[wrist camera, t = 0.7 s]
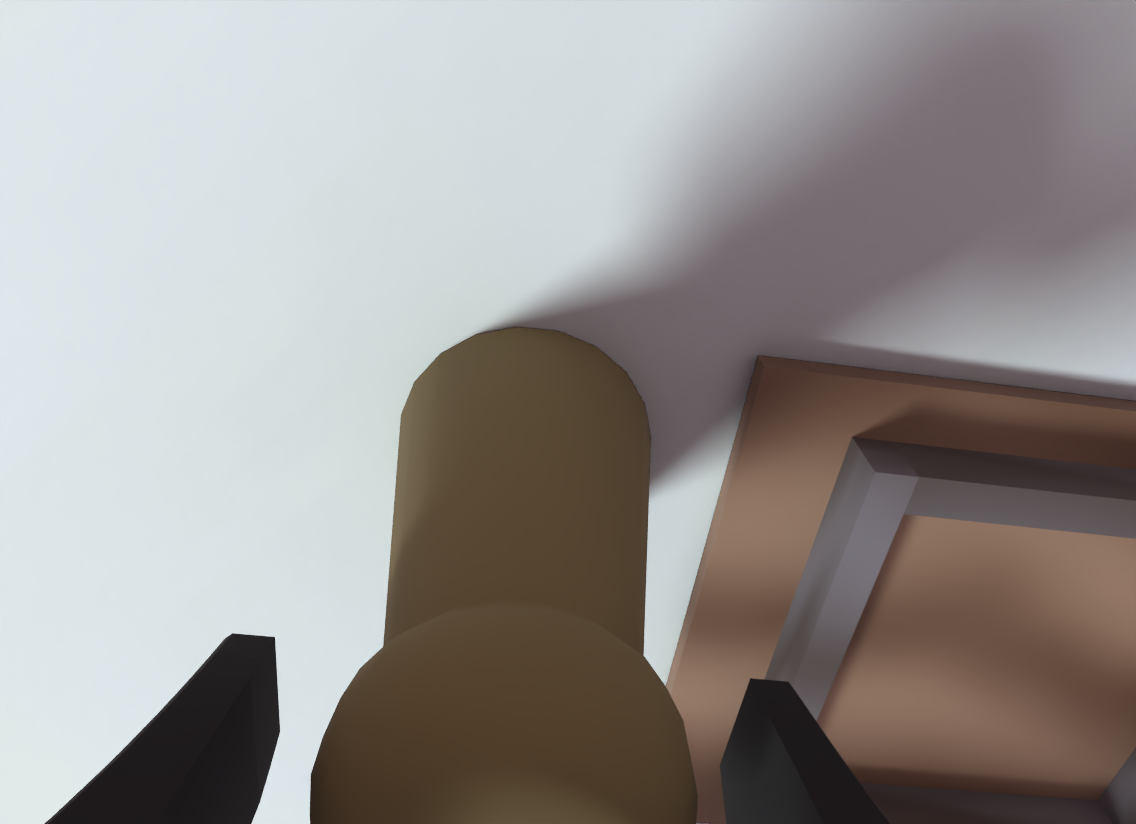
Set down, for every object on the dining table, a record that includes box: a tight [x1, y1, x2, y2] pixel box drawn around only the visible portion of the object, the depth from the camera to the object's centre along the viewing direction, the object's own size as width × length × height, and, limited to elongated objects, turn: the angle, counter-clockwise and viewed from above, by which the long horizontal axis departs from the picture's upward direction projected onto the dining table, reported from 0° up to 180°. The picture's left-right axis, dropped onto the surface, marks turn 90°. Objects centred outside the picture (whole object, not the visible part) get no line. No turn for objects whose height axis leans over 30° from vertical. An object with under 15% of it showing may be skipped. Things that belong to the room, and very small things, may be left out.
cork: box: [310, 327, 698, 824], centre depth 14 cm, size 6×6×11 cm
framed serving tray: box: [666, 355, 1136, 824], centre depth 22 cm, size 16×18×2 cm
